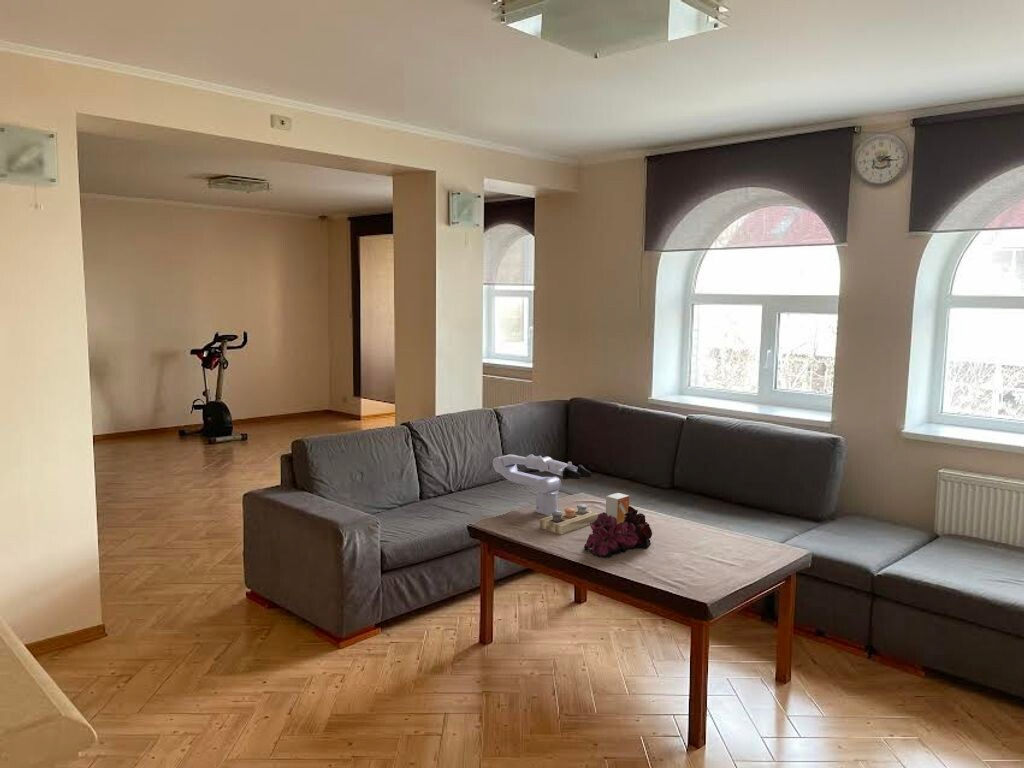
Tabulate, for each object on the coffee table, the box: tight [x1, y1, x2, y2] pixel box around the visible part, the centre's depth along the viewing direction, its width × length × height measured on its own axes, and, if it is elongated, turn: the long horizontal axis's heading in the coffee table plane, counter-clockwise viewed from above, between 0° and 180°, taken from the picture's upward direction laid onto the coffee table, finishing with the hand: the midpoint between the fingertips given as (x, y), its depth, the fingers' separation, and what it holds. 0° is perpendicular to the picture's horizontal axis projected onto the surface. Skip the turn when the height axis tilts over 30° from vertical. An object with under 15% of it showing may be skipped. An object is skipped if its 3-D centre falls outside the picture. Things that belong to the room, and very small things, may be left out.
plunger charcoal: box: [552, 512, 562, 523], centre depth 305 cm, size 4×4×4 cm
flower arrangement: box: [583, 505, 653, 559], centre depth 284 cm, size 31×20×15 cm, turn 137°
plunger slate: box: [576, 503, 588, 515], centre depth 317 cm, size 4×4×4 cm
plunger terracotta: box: [564, 507, 575, 519], centre depth 311 cm, size 4×4×4 cm
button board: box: [539, 507, 600, 535], centre depth 311 cm, size 12×24×4 cm, turn 135°
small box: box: [605, 492, 630, 524], centre depth 309 cm, size 8×6×13 cm
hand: (585, 475), depth 312 cm, fingers open, 7 cm apart
